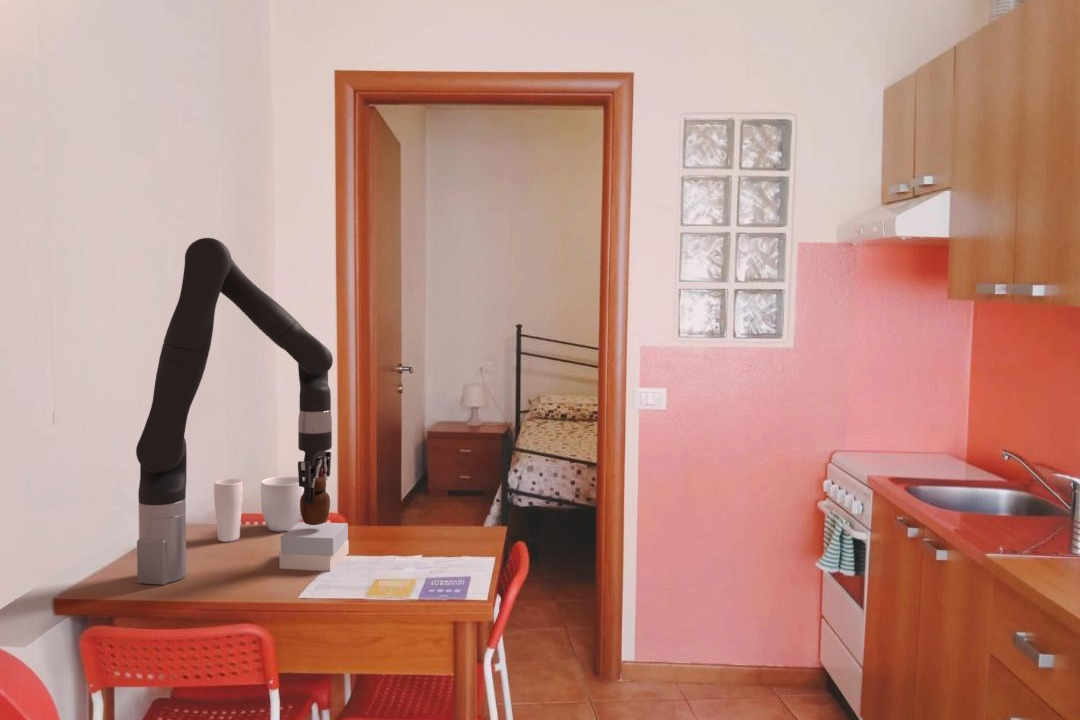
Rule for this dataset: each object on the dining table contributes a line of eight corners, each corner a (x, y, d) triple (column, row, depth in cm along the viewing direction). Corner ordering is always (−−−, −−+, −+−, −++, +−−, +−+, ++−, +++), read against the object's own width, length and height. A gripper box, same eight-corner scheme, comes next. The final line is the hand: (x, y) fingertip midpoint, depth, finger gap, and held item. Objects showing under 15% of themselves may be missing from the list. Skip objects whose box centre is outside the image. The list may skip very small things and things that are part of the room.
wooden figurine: (299, 527, 176) (299, 463, 175) (300, 520, 182) (300, 458, 181) (330, 526, 178) (330, 462, 177) (329, 519, 184) (329, 457, 183)
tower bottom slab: (330, 573, 174) (330, 556, 174) (279, 570, 175) (279, 553, 175) (348, 556, 186) (348, 540, 186) (301, 553, 187) (301, 537, 187)
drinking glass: (215, 536, 198) (215, 479, 197) (243, 534, 200) (243, 478, 199) (213, 544, 192) (212, 485, 191) (242, 542, 194) (241, 483, 193)
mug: (320, 521, 214) (320, 475, 213) (317, 533, 203) (317, 484, 202) (264, 523, 211) (264, 476, 210) (257, 535, 200) (257, 485, 199)
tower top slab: (333, 555, 174) (333, 538, 174) (280, 553, 175) (280, 536, 174) (347, 539, 186) (347, 523, 186) (298, 538, 187) (298, 522, 186)
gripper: (318, 435, 171) (318, 508, 172) (341, 425, 185) (341, 493, 187) (286, 433, 172) (286, 507, 173) (312, 424, 186) (312, 492, 187)
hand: (314, 499), depth 180 cm, fingers closed on wooden figurine, 6 cm apart
